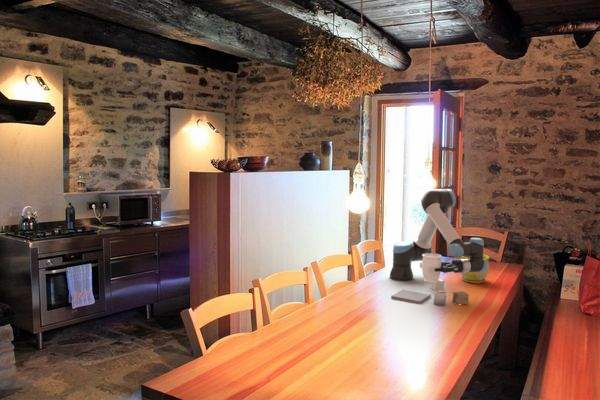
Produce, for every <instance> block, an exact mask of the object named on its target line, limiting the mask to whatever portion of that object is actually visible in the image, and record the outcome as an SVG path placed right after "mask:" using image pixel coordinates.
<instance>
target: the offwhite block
mask: <svg viewBox="0 0 600 400" xmlns="http://www.w3.org/2000/svg"><path fill="white" fill-rule="evenodd" d="M438 280H439V282H436V283H430V287H429V288H430V289H431V290H432V291H433V292H435V291H436V290H441V291H445V280H443V279H442V278H440V277H439V278H438Z"/></svg>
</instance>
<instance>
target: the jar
mask: <svg viewBox="0 0 600 400" xmlns="http://www.w3.org/2000/svg"><path fill="white" fill-rule="evenodd" d="M422 256H423V260H422V261H421V263H422V268H421V271H422V276H423V279H422V280H423V281H424V282H425V283H430V284H431V283H436V282H439V280H438V279H439V278H440V275H441V272H428V270H429V267H440V268H441V262H442V257H443V256H442V255H441V254H439V253H434V252H432V253H426V254H422ZM423 281H422V282H423Z"/></svg>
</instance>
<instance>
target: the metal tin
mask: <svg viewBox="0 0 600 400" xmlns="http://www.w3.org/2000/svg"><path fill="white" fill-rule="evenodd" d="M433 292H434V293H433V294H434V295H433V296H434V297H433V298H434V299H433V304H434V305H435V306H438V307H445V306H446V300H447V292H446V291H445V290H444V291H441V290H436V291H433Z"/></svg>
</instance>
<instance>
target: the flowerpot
mask: <svg viewBox="0 0 600 400" xmlns="http://www.w3.org/2000/svg"><path fill="white" fill-rule="evenodd" d="M460 259H469V256H462V257H460ZM483 259H486V261H487V264H488V267H487V270H486V271H482V272H466V273H464V272H461V273H460V275H461V276H462V277H461V279H462V281H464V282H466V283H469V282H470V283H471V284H482V283H481V282H483V283H484V282H485V281H486V278H487V276H488V275H489V271H490V269H489V268H490V265H489V262H490V256H489V255H487V254H483ZM470 283H469V284H470Z"/></svg>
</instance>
